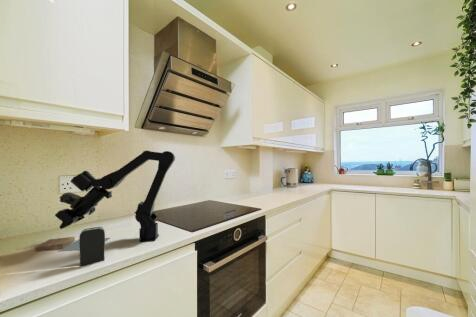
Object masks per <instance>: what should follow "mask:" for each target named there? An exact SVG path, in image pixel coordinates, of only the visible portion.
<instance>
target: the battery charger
mask: <svg viewBox="0 0 476 317" xmlns="http://www.w3.org/2000/svg"><path fill="white" fill-rule="evenodd" d="M105 238H106V232H105V229H104V227H103V226H95V227H89V228H84V229H83V230H82V231H81V232H80V233H79V236H78V239H79V267H85V266H89V265H93V264H96V263H102V262H104V261H105V258H106V257H105V250H106V247H105V246H106V242H105Z"/></svg>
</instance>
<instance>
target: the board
mask: <svg viewBox="0 0 476 317" xmlns="http://www.w3.org/2000/svg"><path fill="white" fill-rule="evenodd" d="M75 237H76V236H68V237H60V238H58V237H57V238H51V239H48V240H46V241H44V242H42V243H40V244H39V245H37V246H35V247H34V251H35V252H42V251H53V250H61V249H63V248H65V247H66V246H68V245H69V244H71V243H73V242H75V241H76V239H75Z"/></svg>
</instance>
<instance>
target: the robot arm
mask: <svg viewBox="0 0 476 317" xmlns="http://www.w3.org/2000/svg"><path fill="white" fill-rule="evenodd" d="M150 160H151V161H157V162H158V164H157V170H156V173H155V175H154V178H153V180H152V183H151V185H150V188H149V189H148V192H147V195H146V198H144V201H140V202H139V203H138V204H137V208H136V211H134V214H135V215H134V218H135V220H136V221H137V223H138V224H139V225H140V228H139V231H138V232H139V233H138V234H139V240H138V241H139V242H151V241H152V242H153V241H156V240H157V239H158V237H159V236H160V234H159V230H158V228H159V222H157V221H158V219H159V216H158V215H157V214H156V213H154V211H155V210H154V209H155V205H156V204H155V203H156V199H157V196H158V194H159V192H160V189H161V188H162V185H163V182H164V179H165V177H166V175H167V174H168V171H169V170H170V168H172V165H173V164H174V162H175V161H176V156H175V153H173V152H172V151H168V150H165V151H163V152H157V151H151V150H143V151H142V153H140V154H139V155H138V156H136V157H134V158H133V159H132V160H131V161H129V162H127V163H126V164H124V165H123V166H122V167H120V168H119V169H118V170H115V171H113V172H109V173H108V174H106V175H104V176H102V177H101V178H95V177H94V176H93V175H92V174H91V173H90V171H88V170H84V171H82V172H80V173H78V174H77V175H76V176H73V177H72V178H71V179H70V183H71V184H72V185H74V186H75V188H77V189H78V190H80V191H81V192H84V191H85V192H87V193H86V194H85V195H83V196H81V195H79V194H76V193H73V192H64V193H63V194H62V195H61V196H59V202H60V203H65V204H66V205H69V207H70V208H63V209H60V210H58V212H56V213H55V214H54V216H55V217H56V218H57V219H58V220H59V221H61V224H60V225H59V229H61V230H62V229H64V228H67V227H69V226H71V225H73V224H76V223H78V222H80V221H82V220H83V219H85V217H86V215H88V216H91V215H93V214H94V212H96V207H97V206H98V205H99V203H100V202H101V201H102V200H103V199H104V198H106V199H111V198H112V197H113V195H112V193H113V191H112V190H111V189H114V188H117V187H118V186H119V185H121V183H122V182H123V181H124V180H125V179H126V177H127V176H129V175H130V174H131V173H133V172H135V171H136V170H137V169H139V168H140V167H142V166H143V165H144V164H146V162H148V161H150ZM109 190H110V191H109Z"/></svg>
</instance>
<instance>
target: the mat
mask: <svg viewBox="0 0 476 317" xmlns="http://www.w3.org/2000/svg"><path fill="white" fill-rule="evenodd" d="M110 239H111V237H105V243H106V242H107V241H108V240H110ZM76 251H79V238H78V239H77V240H75V241H74V242H72V243H71V244H69V245H68V246H66V247H65V248H63V249H58V250H57V252H76Z"/></svg>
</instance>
